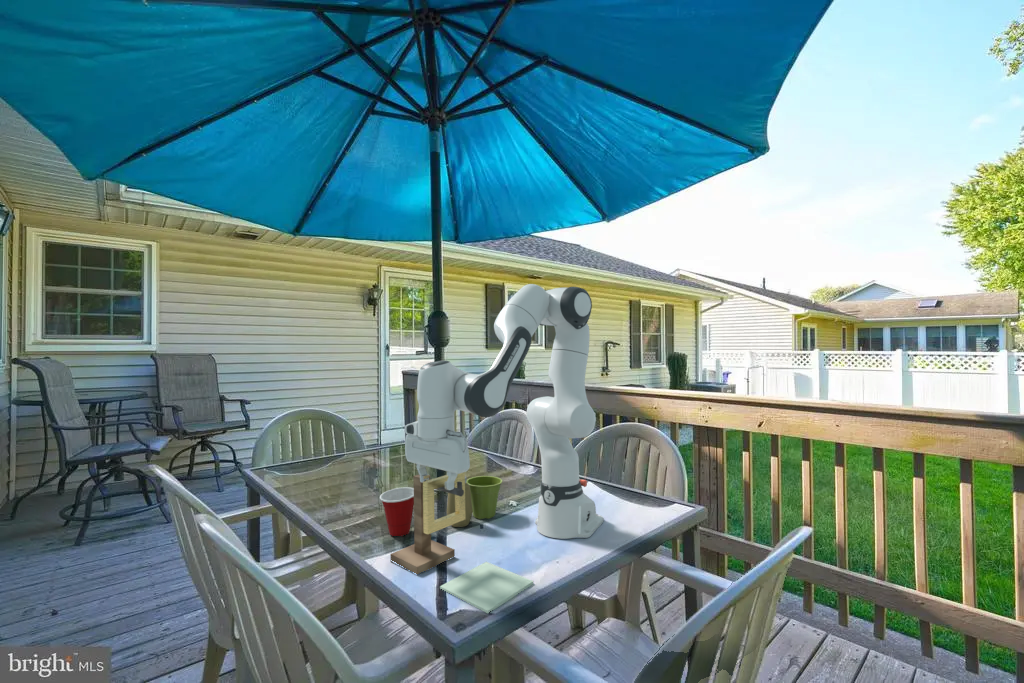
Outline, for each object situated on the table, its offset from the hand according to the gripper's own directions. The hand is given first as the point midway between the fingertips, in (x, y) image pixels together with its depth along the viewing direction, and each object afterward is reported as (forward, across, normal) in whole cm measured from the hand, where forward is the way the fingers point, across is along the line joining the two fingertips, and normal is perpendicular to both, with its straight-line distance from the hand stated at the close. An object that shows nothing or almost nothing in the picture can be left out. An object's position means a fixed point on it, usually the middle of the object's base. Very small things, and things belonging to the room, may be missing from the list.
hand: (436, 485), depth 108 cm
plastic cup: (+21, +28, -9) cm, 36 cm away
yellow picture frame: (+10, 0, -3) cm, 11 cm away
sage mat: (+21, -13, -4) cm, 25 cm away
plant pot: (+21, +18, -35) cm, 44 cm away
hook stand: (+21, +4, -3) cm, 22 cm away
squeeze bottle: (+21, +19, -25) cm, 38 cm away
